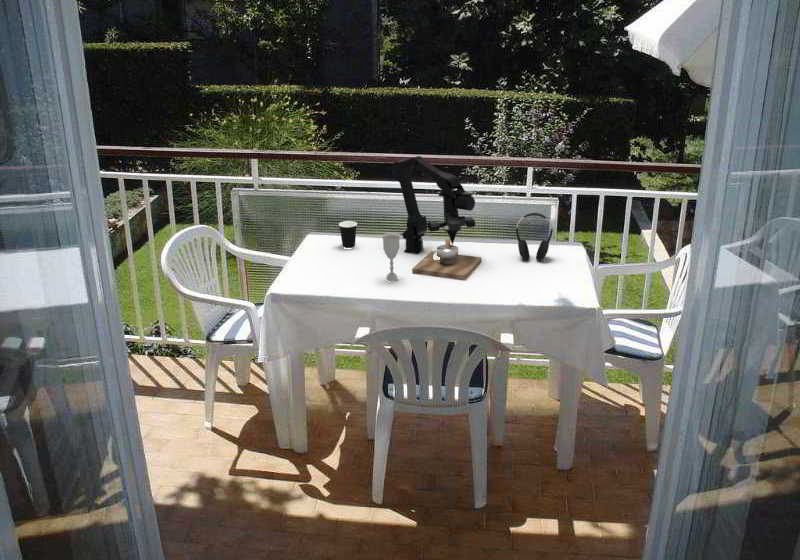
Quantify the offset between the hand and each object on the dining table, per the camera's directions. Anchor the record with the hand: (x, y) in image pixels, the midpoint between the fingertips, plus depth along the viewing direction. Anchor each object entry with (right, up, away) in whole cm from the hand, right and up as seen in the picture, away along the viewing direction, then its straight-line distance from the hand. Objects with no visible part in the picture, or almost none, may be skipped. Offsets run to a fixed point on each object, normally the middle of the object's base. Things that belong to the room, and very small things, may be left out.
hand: (452, 244), depth 317 cm
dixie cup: (-44, -1, +19) cm, 48 cm away
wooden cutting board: (-2, -10, -5) cm, 11 cm away
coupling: (-2, -4, -3) cm, 5 cm away
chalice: (-25, -15, -16) cm, 33 cm away
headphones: (+33, -6, +3) cm, 34 cm away
